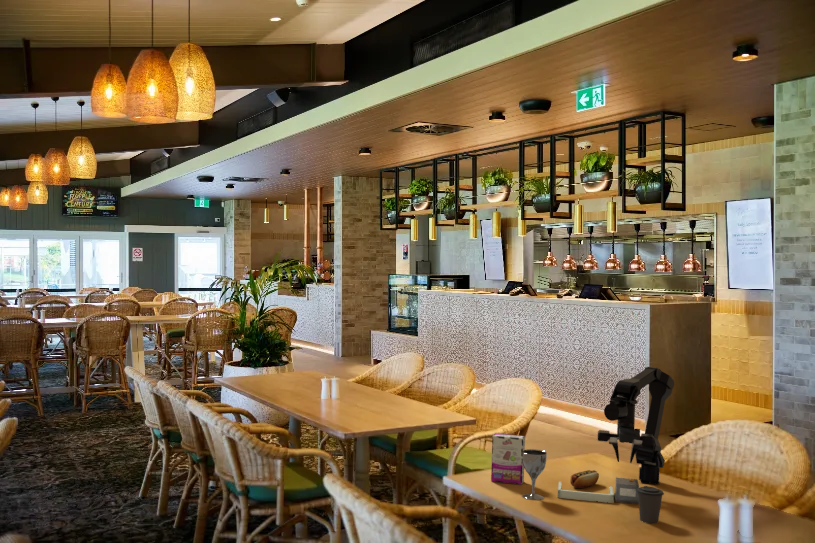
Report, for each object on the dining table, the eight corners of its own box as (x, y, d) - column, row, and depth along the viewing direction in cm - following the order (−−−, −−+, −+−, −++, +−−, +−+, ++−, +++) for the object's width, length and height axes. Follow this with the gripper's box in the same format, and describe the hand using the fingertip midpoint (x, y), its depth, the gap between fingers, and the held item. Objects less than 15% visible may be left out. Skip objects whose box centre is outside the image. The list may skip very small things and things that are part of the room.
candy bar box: (524, 481, 278) (525, 435, 277) (521, 485, 273) (523, 438, 273) (493, 478, 281) (494, 432, 281) (490, 481, 276) (492, 435, 276)
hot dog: (602, 485, 277) (602, 471, 277) (579, 491, 268) (580, 476, 268) (590, 481, 281) (590, 468, 281) (567, 487, 272) (568, 473, 272)
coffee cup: (641, 514, 244) (642, 482, 244) (667, 520, 239) (668, 488, 239) (630, 520, 238) (632, 487, 238) (656, 526, 233) (658, 493, 233)
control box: (637, 496, 263) (638, 478, 263) (639, 504, 255) (640, 485, 255) (614, 494, 265) (614, 476, 265) (615, 501, 257) (616, 482, 257)
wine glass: (544, 494, 263) (545, 450, 262) (546, 501, 255) (547, 455, 255) (520, 492, 263) (522, 448, 263) (521, 499, 255) (523, 454, 255)
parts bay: (612, 493, 266) (612, 486, 266) (613, 503, 255) (613, 495, 255) (558, 488, 270) (558, 481, 270) (557, 497, 259) (557, 490, 259)
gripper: (599, 419, 264) (597, 465, 264) (656, 424, 260) (654, 470, 260) (598, 413, 275) (596, 457, 275) (653, 417, 271) (651, 462, 271)
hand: (624, 462), depth 270 cm, fingers open, 4 cm apart
